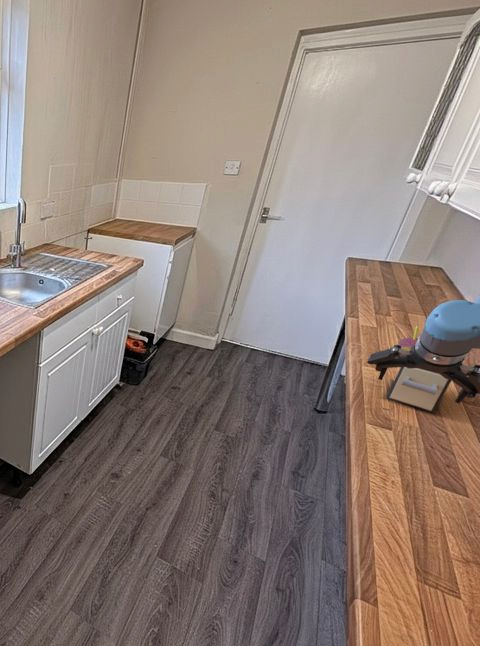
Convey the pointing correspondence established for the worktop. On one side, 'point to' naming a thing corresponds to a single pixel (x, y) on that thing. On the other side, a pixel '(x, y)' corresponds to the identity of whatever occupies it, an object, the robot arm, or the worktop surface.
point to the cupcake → (409, 341)
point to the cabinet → (413, 405)
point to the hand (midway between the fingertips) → (418, 386)
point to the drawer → (419, 387)
